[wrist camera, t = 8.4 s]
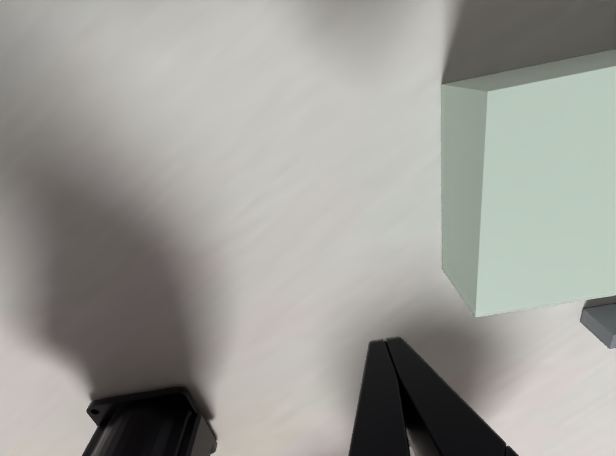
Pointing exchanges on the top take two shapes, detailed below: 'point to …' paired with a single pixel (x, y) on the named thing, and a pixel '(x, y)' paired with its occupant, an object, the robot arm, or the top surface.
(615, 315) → the stand
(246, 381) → the top surface
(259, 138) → the top surface
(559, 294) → the carton
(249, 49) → the top surface
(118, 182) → the top surface
